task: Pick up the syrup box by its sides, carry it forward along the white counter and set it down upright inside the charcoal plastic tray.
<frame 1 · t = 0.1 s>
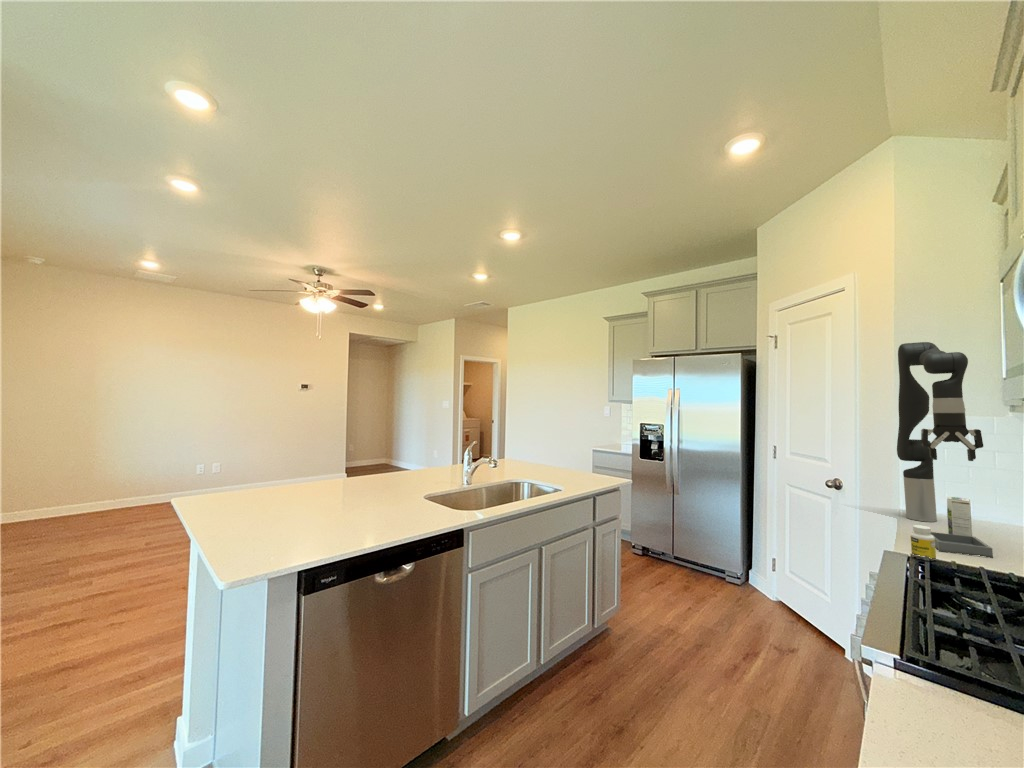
hand: (952, 460, 140), 29 cm above the worktop, tool pointing down, fingers open, 8 cm apart
supplement bottle: (924, 559, 129), on the worktop
syrup box: (961, 540, 147), on the worktop
tray: (957, 548, 139), on the worktop
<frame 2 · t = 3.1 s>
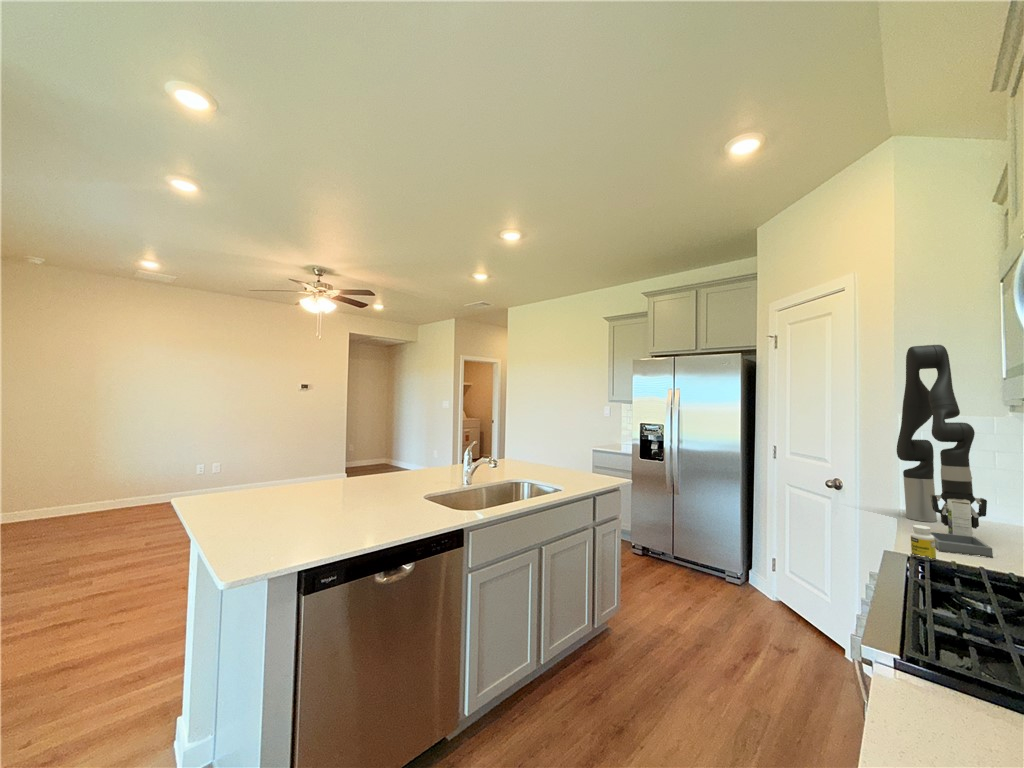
hand: (959, 526, 148), 5 cm above the worktop, tool pointing down, fingers closed on syrup box, 6 cm apart
syrup box: (961, 540, 147), on the worktop, touching gripper
everything else where it was.
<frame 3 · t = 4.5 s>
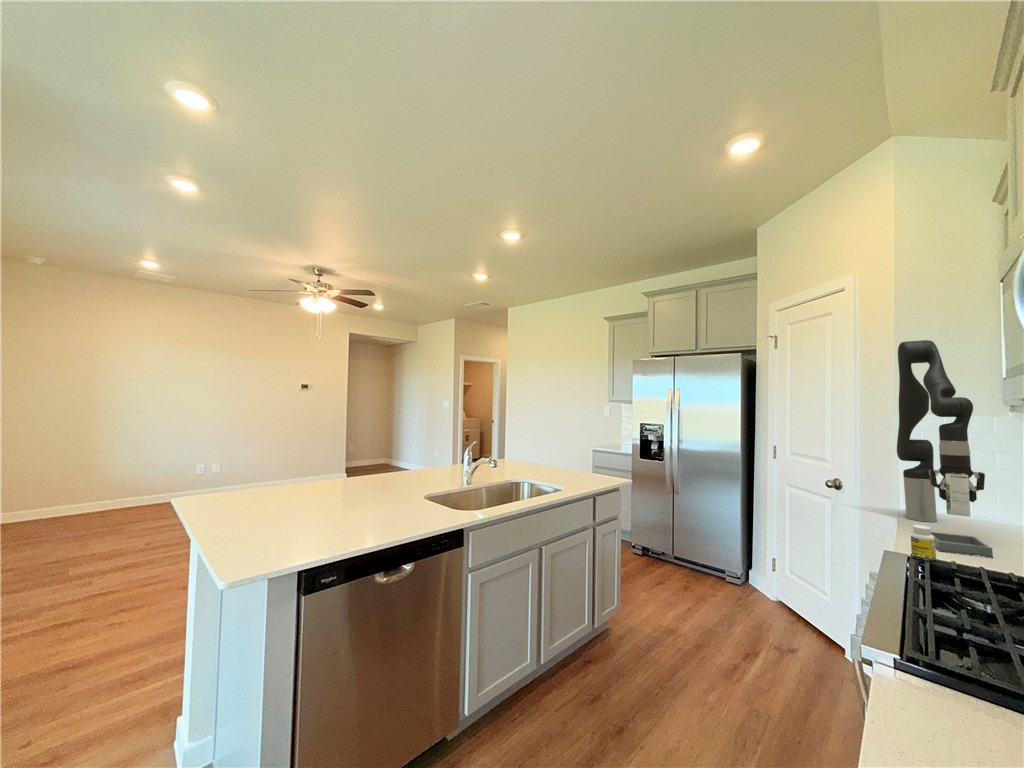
hand: (957, 500, 149), 14 cm above the worktop, tool pointing down, fingers closed on syrup box, 6 cm apart
syrup box: (958, 514, 148), point 9 cm above the worktop, touching gripper
everything else where it was.
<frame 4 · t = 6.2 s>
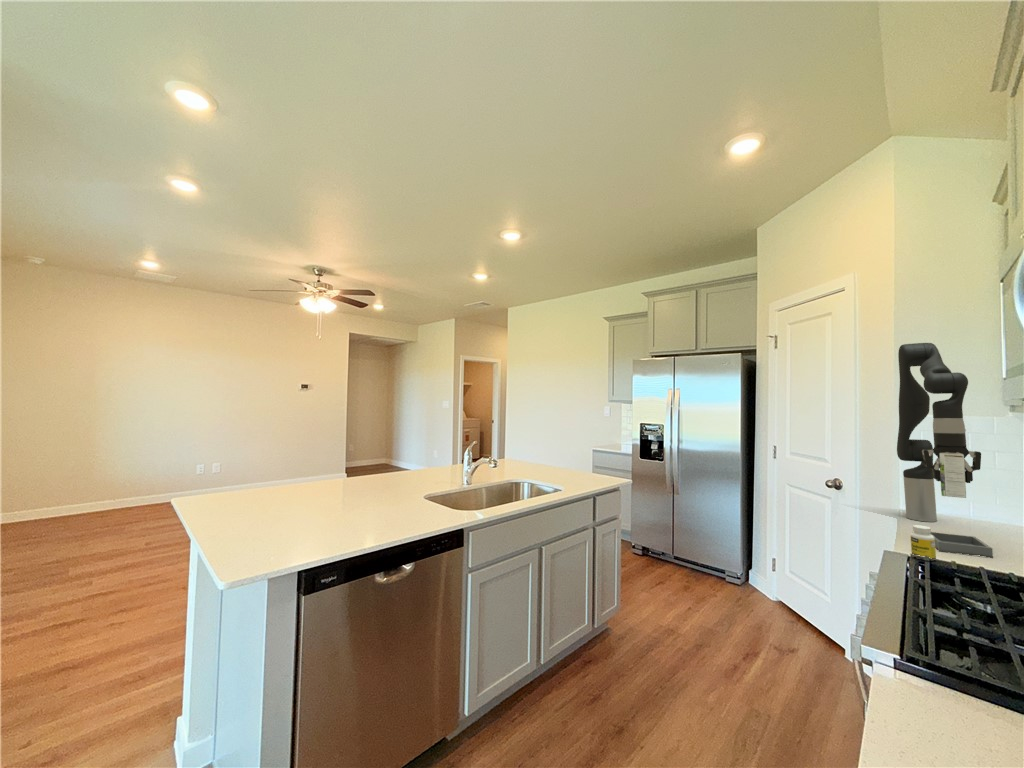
hand: (952, 481, 140), 22 cm above the worktop, tool pointing down, fingers closed on syrup box, 6 cm apart
syrup box: (954, 496, 140), point 17 cm above the worktop, touching gripper
everything else where it was.
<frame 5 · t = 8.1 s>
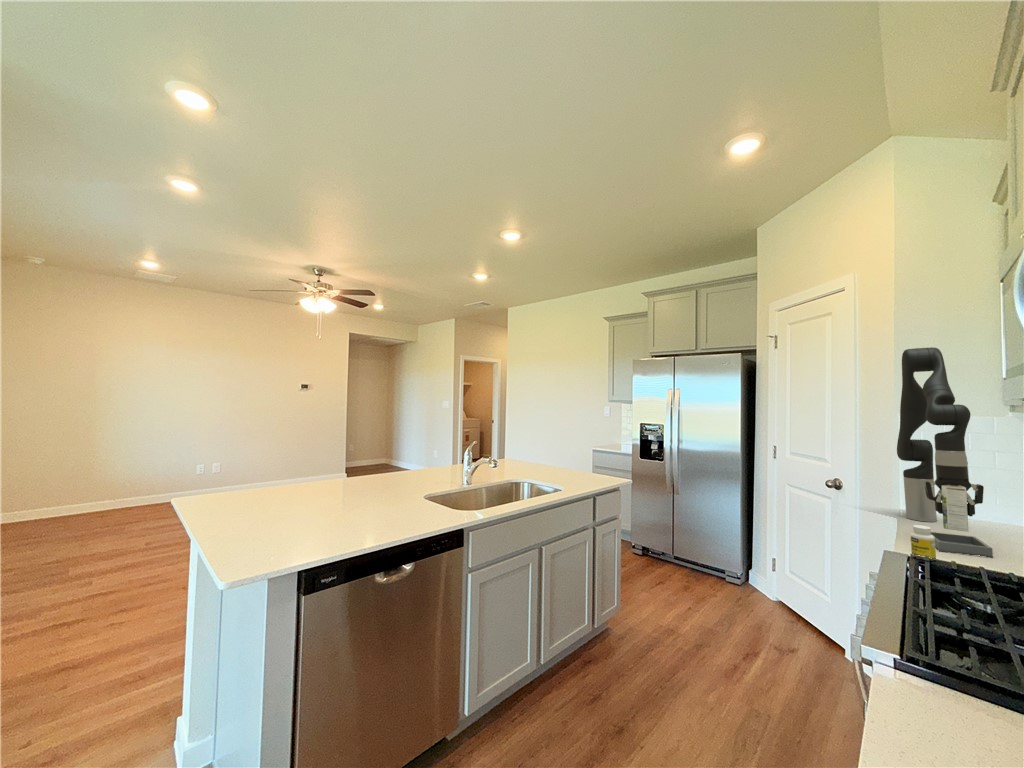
hand: (954, 514, 140), 11 cm above the worktop, tool pointing down, fingers closed on syrup box, 6 cm apart
syrup box: (956, 529, 139), point 6 cm above the worktop, touching gripper
everything else where it was.
when the fingers open (7 cm above the worktop, at t = 9.5 s): syrup box drops 2 cm, resting on tray.
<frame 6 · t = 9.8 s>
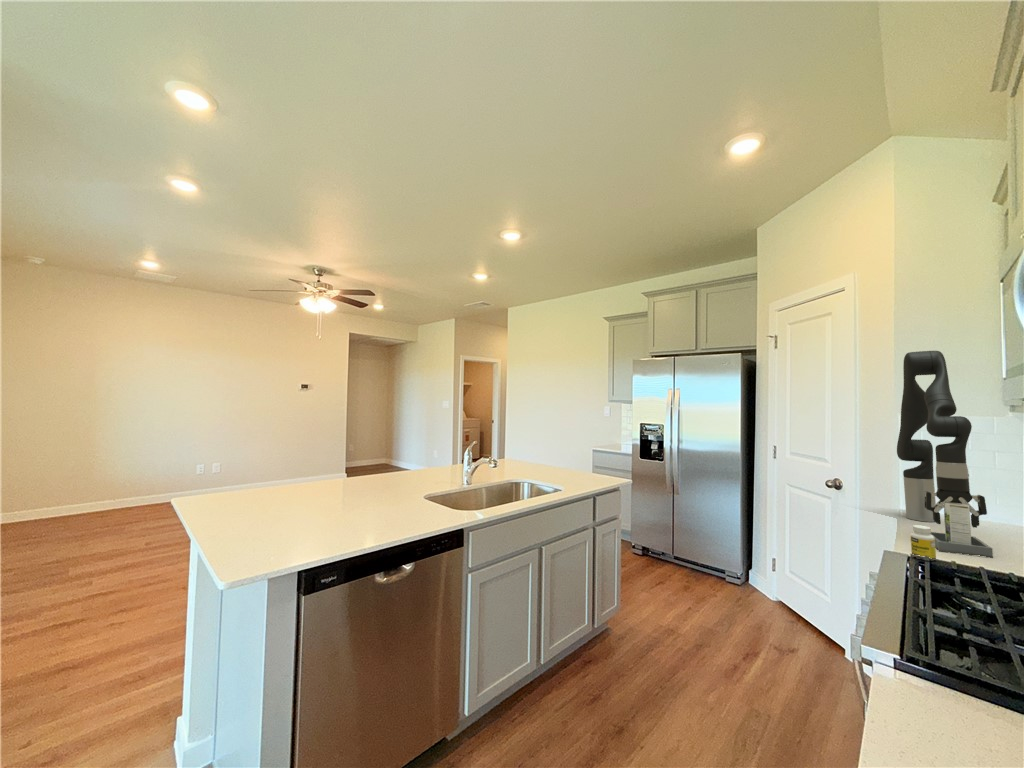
hand: (955, 525, 139), 8 cm above the worktop, tool pointing down, fingers open, 8 cm apart
syrup box: (959, 547, 139), resting on tray
everything else where it was.
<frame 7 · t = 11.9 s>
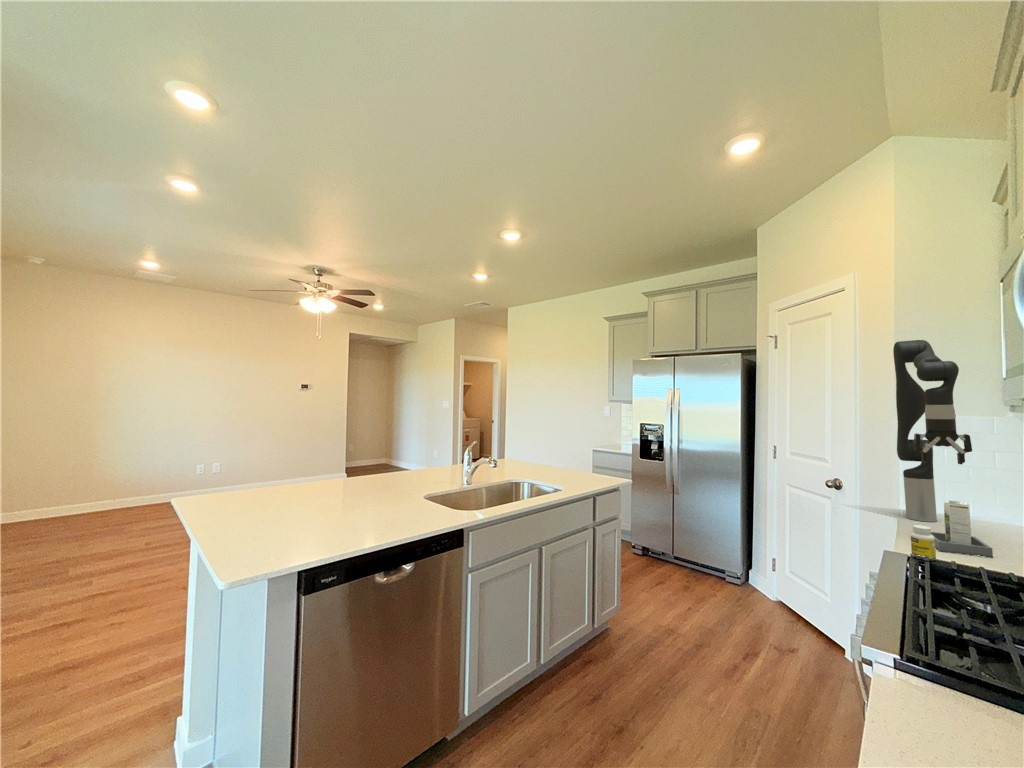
hand: (943, 463, 148), 27 cm above the worktop, tool pointing down, fingers open, 8 cm apart
nothing on the worktop moved.
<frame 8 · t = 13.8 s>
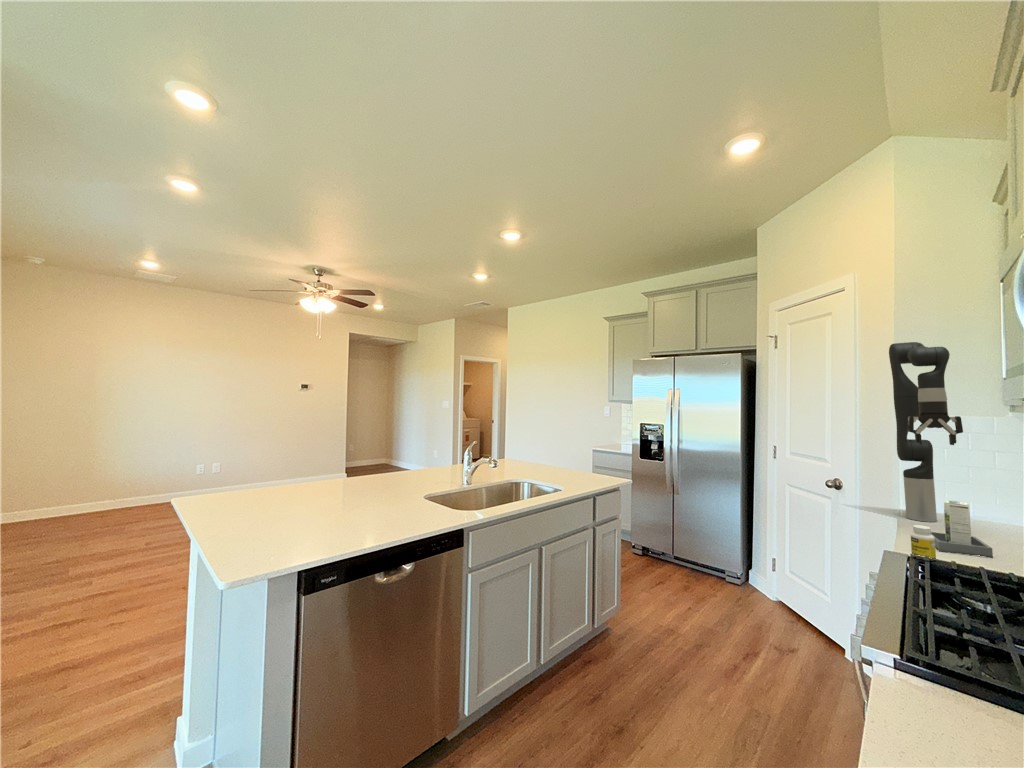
hand: (935, 444, 154), 33 cm above the worktop, tool pointing down, fingers open, 8 cm apart
nothing on the worktop moved.
at the end: syrup box inside the target area on the tray (0.4 cm from its centre), point 0.4 cm above the tray's base; syrup box tilted 0°; the gripper is holding nothing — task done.
